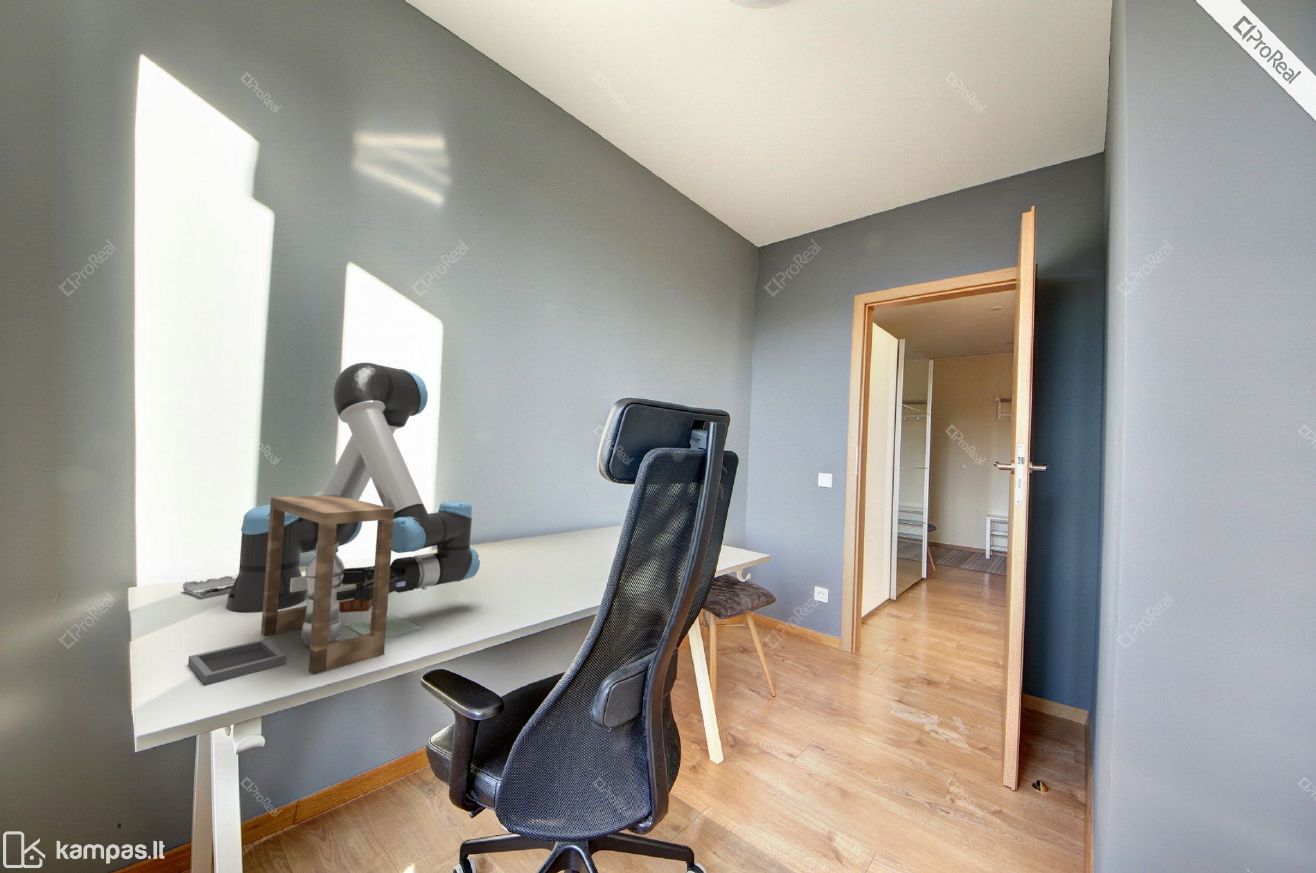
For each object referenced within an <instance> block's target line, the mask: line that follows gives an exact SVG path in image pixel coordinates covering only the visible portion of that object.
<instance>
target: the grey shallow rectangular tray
mask: <svg viewBox="0 0 1316 873" xmlns="http://www.w3.org/2000/svg"><path fill="white" fill-rule="evenodd" d="M286 661H287V655H286V654H285V653H283V651H281V650H280V649H279V648H277V647H276V646H275V645H274V644H272V643H271V642H270V641H269V640H267V639H266V638H264V639H259V640H255V641H250V642H246V643H241V644H237V645H234V646H233V645H232V646H229V647H224V648H220V649H215V650H211V651H207V652H202V653H197V654H193V655H189V656H188V660H187V662H188V663H187V664H188V666H189V668H190V669H191V670H192V671H193V672H194V674H195V675H196V676H197V677H198V678H199V680H200V681H201V683H202V684H203V685H204V686H208V685H211V684H215V683H219V682H222V681H226V680H230V679H234V678H238V677H241V676H245V675H248V674H252V673H255V672H260V671H263V670H268V669H272V668H275V666H276V667H279V666H283V665H286ZM278 665H279V666H278ZM267 668H268V669H267Z"/></svg>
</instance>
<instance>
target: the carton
mask: <svg viewBox="0 0 1316 873" xmlns="http://www.w3.org/2000/svg"><path fill="white" fill-rule="evenodd" d="M349 585H355V589H356V584H341V587H343V586H349ZM370 595H371V594H370ZM339 609H340V613H356V612H369V611H370V610H371V609H372V599H371V600H368V601H363V598H362V599H360V600H357V599H355V598H354V599H353V600H348V601H343V602H339Z"/></svg>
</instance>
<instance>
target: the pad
mask: <svg viewBox="0 0 1316 873" xmlns="http://www.w3.org/2000/svg"><path fill="white" fill-rule="evenodd" d="M370 626H371V618H370V619H367V620H362V621H358V622H354V623H349V624H346V626H345V627H346V628H347V629H349V630H351V631H352V632H354V633H356V634H357V635H358V636H361V635H365V634H369V633H370ZM419 630H421V627H420V626H418V625H416V624H414V623H412V622H410V621H408V620H406V619H404V618H401V617H399V616H398V615H397V614H393V613H391V614H387V622H386V636H385V639H388V638H393V637H395V636H400V635H403V634H407V633H410V632H415V631H419Z"/></svg>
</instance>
